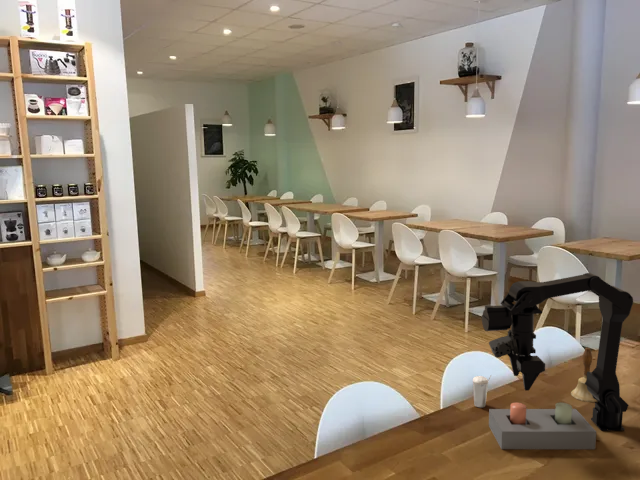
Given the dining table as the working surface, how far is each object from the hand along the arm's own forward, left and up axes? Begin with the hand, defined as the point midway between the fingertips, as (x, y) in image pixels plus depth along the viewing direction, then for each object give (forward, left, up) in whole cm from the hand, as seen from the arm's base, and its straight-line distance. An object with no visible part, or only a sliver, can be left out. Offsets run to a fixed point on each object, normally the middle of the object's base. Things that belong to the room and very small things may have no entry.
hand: (521, 382), depth 145 cm
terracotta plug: (+2, +5, -10) cm, 11 cm away
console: (-4, +5, -14) cm, 15 cm away
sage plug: (-10, +5, -10) cm, 15 cm away
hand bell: (-27, -19, -14) cm, 36 cm away
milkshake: (+7, -13, -14) cm, 20 cm away
